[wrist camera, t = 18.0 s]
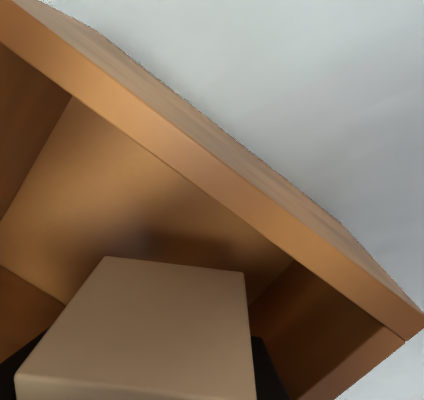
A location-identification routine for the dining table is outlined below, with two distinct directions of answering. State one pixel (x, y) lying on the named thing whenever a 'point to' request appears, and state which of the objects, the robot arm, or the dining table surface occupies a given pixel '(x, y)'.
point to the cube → (146, 337)
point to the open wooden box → (168, 208)
